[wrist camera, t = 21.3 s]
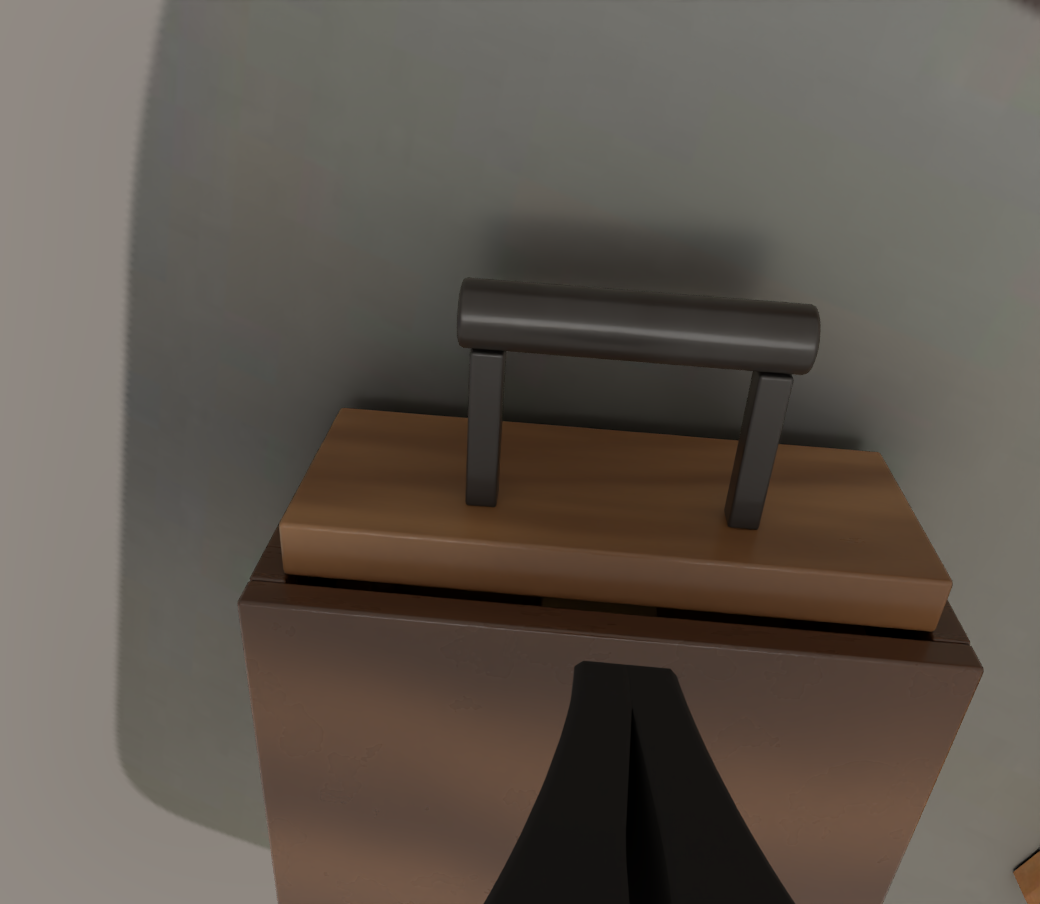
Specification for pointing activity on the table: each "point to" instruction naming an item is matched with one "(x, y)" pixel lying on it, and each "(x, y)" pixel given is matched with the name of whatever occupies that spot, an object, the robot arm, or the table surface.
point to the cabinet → (540, 720)
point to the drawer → (619, 483)
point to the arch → (1030, 879)
